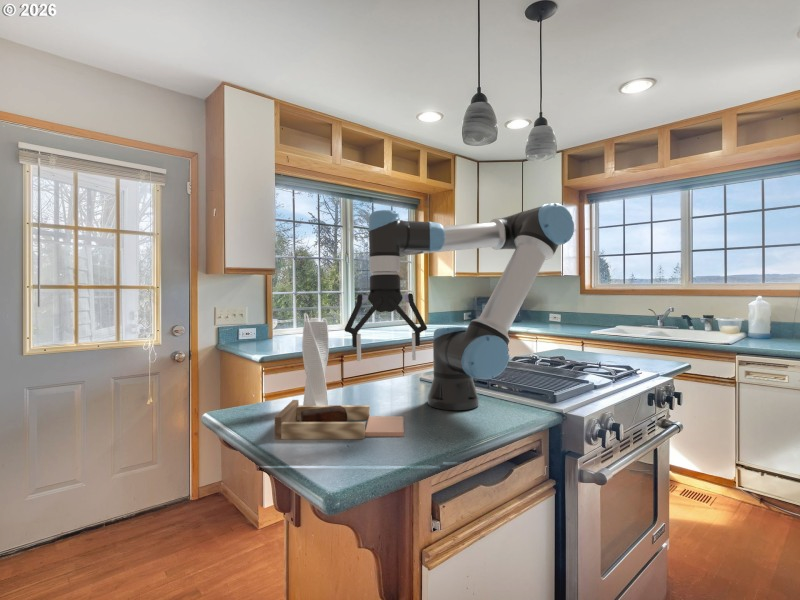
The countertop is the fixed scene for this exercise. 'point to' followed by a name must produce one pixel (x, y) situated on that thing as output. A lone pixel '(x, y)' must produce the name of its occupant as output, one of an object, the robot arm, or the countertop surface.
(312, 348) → the skyscraper
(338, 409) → the brick
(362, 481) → the countertop surface
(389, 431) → the tile
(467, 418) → the countertop surface
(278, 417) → the channel
